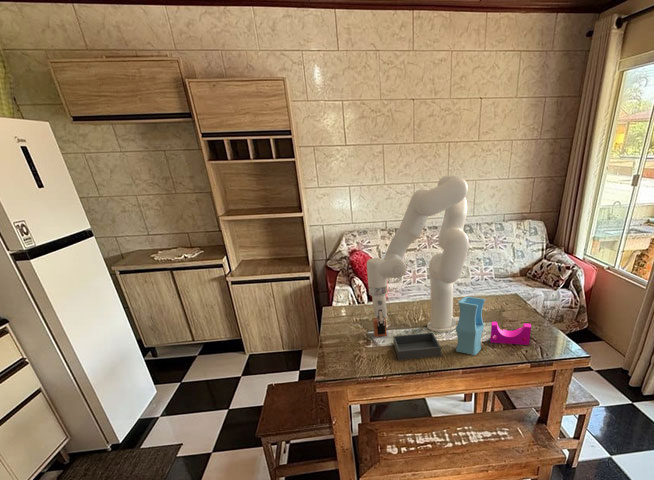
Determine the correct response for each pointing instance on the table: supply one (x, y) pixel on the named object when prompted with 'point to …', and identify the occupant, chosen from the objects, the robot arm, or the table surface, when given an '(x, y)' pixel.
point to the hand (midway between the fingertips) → (380, 330)
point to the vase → (470, 325)
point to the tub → (416, 346)
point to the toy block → (511, 335)
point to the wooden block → (376, 327)
